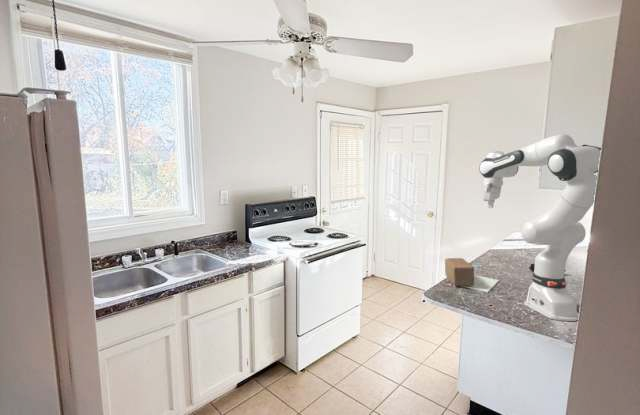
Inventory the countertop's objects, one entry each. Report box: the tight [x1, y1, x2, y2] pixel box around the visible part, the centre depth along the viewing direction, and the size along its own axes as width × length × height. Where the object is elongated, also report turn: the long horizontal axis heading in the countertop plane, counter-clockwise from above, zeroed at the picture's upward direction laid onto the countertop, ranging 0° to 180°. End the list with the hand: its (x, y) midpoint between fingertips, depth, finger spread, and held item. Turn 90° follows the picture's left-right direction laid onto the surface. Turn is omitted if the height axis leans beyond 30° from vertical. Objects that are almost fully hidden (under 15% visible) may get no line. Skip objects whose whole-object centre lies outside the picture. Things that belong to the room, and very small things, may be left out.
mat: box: [461, 274, 500, 293], centre depth 179 cm, size 22×16×1 cm
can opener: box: [528, 263, 566, 277], centre depth 195 cm, size 18×7×6 cm, turn 64°
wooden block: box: [444, 257, 475, 287], centre depth 181 cm, size 10×10×20 cm
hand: (490, 207), depth 182 cm, fingers closed
